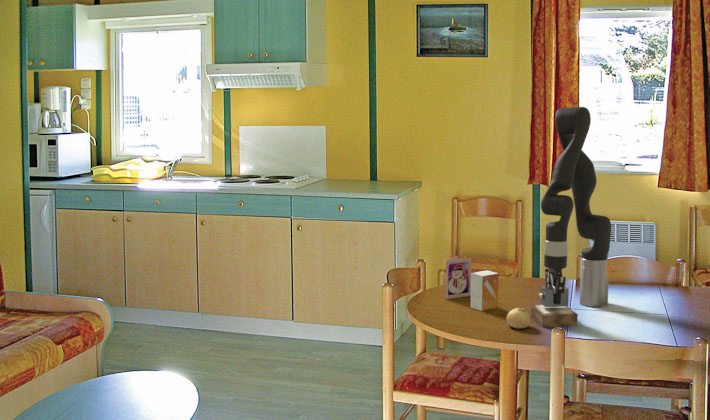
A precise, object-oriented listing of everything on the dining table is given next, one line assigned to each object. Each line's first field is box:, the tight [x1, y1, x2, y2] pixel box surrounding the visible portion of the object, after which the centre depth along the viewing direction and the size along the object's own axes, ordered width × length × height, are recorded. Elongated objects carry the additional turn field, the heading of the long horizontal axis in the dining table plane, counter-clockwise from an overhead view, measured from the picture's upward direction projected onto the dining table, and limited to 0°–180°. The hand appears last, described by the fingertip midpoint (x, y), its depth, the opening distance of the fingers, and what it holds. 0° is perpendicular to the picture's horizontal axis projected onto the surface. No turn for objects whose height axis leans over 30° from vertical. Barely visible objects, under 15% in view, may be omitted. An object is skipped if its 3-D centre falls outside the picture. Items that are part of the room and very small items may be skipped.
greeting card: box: [445, 255, 472, 300], centre depth 308 cm, size 11×7×15 cm, turn 115°
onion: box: [505, 306, 532, 330], centre depth 268 cm, size 8×8×7 cm
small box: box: [470, 269, 500, 312], centre depth 291 cm, size 8×6×13 cm
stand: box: [530, 304, 578, 328], centre depth 274 cm, size 12×12×4 cm
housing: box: [538, 285, 570, 307], centre depth 273 cm, size 9×5×6 cm, turn 96°
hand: (554, 301), depth 274 cm, fingers closed on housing, 5 cm apart
